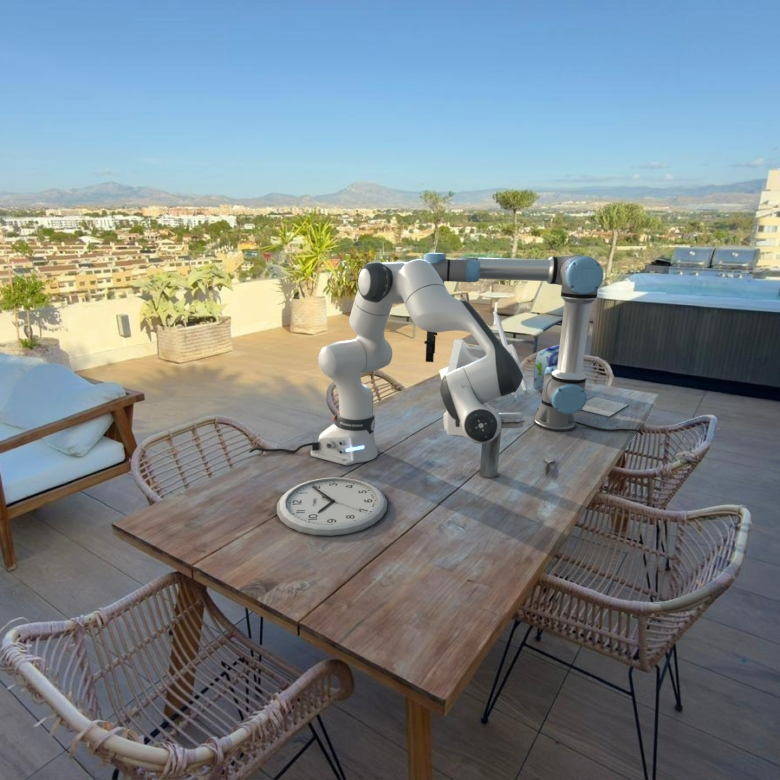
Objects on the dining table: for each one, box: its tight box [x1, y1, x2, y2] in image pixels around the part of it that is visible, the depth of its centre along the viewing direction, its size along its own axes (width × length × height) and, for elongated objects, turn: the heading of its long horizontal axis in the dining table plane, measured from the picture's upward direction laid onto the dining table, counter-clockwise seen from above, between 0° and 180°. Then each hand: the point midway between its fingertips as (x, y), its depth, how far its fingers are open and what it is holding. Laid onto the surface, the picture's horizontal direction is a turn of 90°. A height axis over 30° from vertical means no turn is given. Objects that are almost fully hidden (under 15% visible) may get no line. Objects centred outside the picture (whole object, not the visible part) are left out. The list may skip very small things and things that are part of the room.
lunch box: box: [533, 344, 560, 392], centre depth 247 cm, size 26×11×21 cm, turn 134°
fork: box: [544, 451, 555, 476], centre depth 168 cm, size 3×16×2 cm, turn 160°
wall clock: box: [276, 476, 388, 537], centre depth 142 cm, size 30×2×30 cm
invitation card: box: [580, 396, 629, 418], centre depth 226 cm, size 21×1×15 cm
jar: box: [479, 429, 502, 479], centre depth 160 cm, size 5×5×19 cm
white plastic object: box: [438, 310, 531, 400], centre depth 245 cm, size 37×45×31 cm
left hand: (482, 419), depth 140 cm, fingers open, 8 cm apart
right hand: (430, 357), depth 190 cm, fingers open, 13 cm apart
